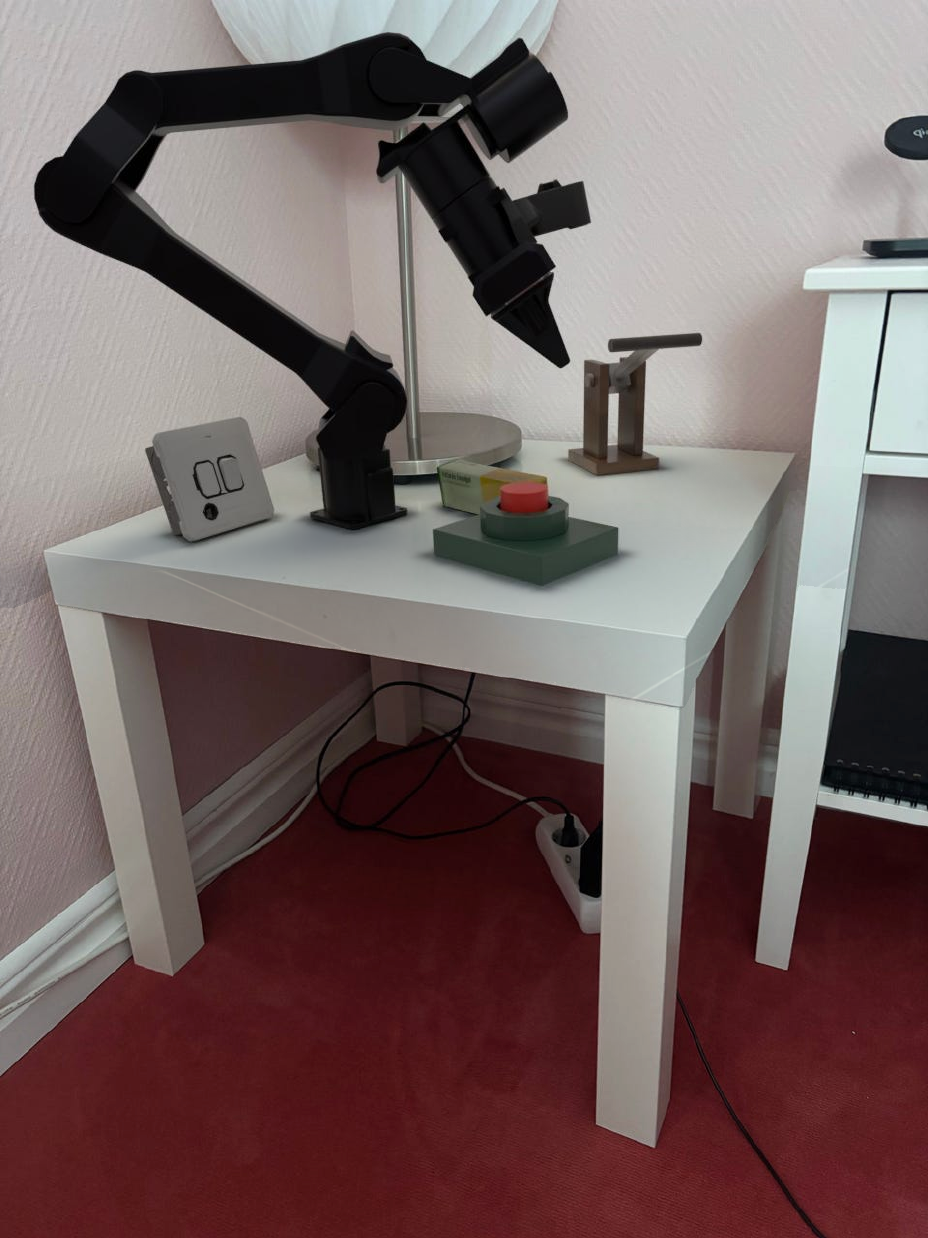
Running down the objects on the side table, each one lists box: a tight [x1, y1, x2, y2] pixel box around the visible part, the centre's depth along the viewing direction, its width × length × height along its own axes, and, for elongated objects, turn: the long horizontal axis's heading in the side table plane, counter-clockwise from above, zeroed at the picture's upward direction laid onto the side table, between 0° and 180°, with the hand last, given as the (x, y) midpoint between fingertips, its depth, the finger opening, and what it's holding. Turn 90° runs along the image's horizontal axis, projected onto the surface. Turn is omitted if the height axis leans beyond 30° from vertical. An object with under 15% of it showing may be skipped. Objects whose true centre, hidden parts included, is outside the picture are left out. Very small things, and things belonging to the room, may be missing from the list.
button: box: [500, 482, 549, 513], centre depth 68 cm, size 4×4×2 cm
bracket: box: [567, 356, 660, 476], centre depth 95 cm, size 8×7×11 cm
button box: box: [432, 495, 620, 587], centre depth 69 cm, size 11×9×4 cm
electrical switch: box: [144, 416, 275, 542], centre depth 79 cm, size 9×5×9 cm, turn 141°
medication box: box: [436, 458, 550, 515], centre depth 80 cm, size 12×3×4 cm, turn 41°
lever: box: [607, 332, 703, 395], centre depth 89 cm, size 12×9×2 cm
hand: (565, 365), depth 77 cm, fingers closed
